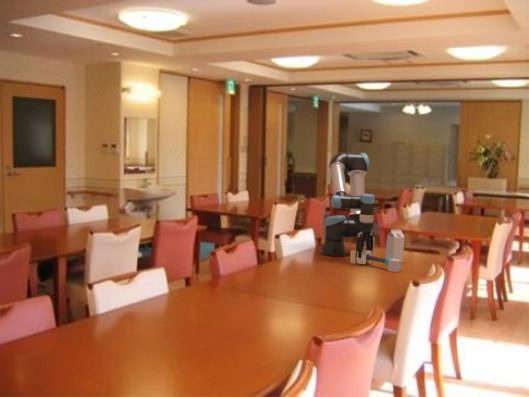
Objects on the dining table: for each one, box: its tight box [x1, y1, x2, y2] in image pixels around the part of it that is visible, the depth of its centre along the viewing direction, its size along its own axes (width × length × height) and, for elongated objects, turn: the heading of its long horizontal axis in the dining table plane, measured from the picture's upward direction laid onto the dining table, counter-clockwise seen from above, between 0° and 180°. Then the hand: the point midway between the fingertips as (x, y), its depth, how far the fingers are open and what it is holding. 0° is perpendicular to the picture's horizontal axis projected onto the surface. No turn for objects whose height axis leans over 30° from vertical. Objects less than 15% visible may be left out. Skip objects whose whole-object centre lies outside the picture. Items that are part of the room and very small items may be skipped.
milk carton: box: [385, 228, 405, 263], centre depth 328 cm, size 7×7×19 cm
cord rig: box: [349, 249, 402, 273], centre depth 312 cm, size 30×5×7 cm, turn 46°
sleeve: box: [356, 249, 372, 265], centre depth 317 cm, size 5×6×7 cm
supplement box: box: [363, 236, 376, 256], centre depth 332 cm, size 8×5×13 cm, turn 73°
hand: (363, 262), depth 317 cm, fingers closed on sleeve, 6 cm apart
